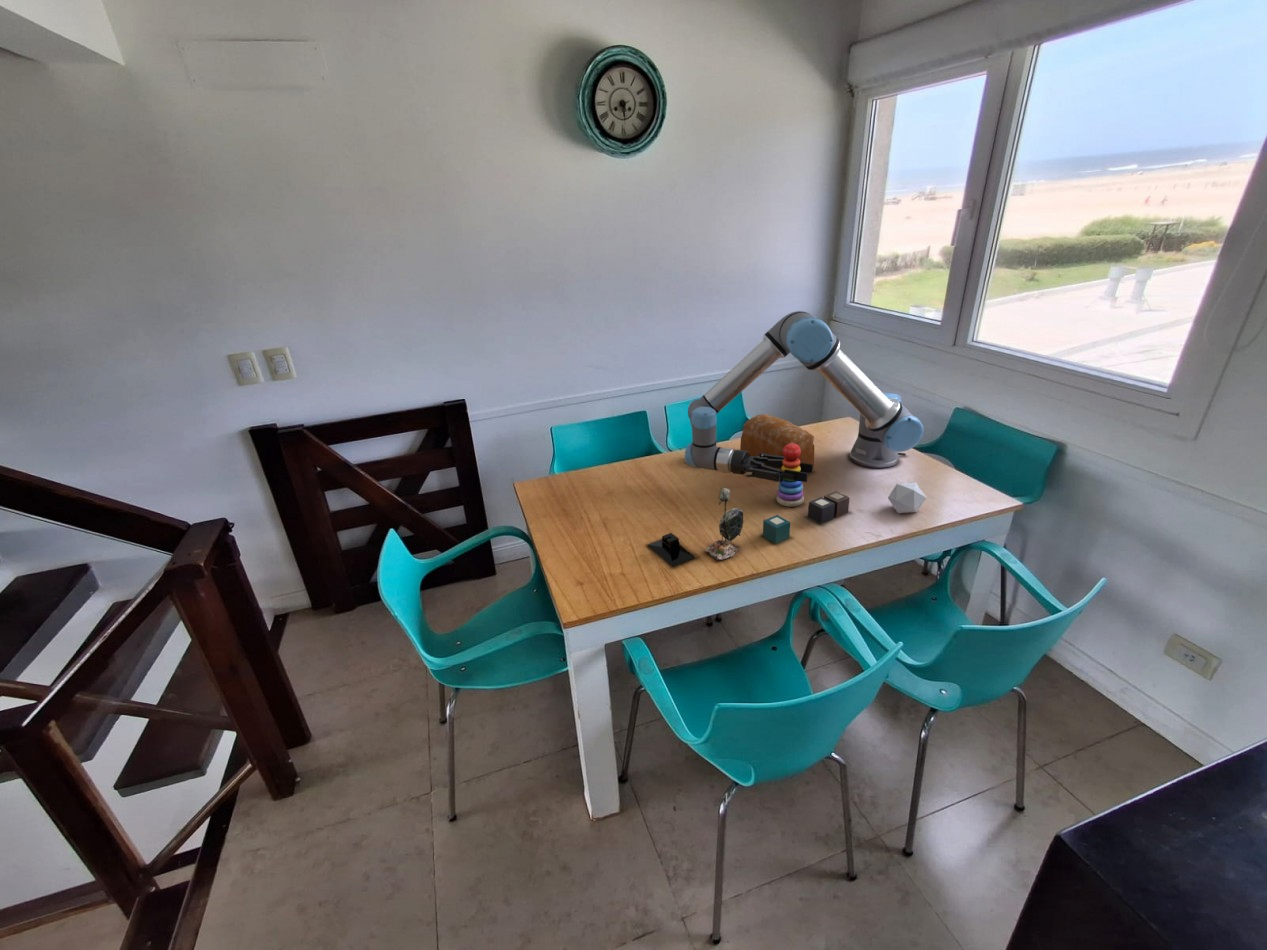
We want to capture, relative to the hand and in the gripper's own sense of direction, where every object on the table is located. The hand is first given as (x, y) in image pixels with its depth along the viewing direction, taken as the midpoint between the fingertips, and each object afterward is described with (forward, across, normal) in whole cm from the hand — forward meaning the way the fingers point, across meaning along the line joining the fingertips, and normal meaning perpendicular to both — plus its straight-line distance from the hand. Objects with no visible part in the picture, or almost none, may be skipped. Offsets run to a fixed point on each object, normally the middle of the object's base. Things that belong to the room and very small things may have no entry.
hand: (809, 473), depth 161 cm
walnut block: (+8, +1, -11) cm, 14 cm away
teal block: (-3, +21, -11) cm, 24 cm away
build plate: (-26, +39, -11) cm, 48 cm away
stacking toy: (-5, 0, -11) cm, 12 cm away
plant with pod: (-13, +32, -11) cm, 37 cm away
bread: (-17, -25, -11) cm, 32 cm away
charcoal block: (+5, +6, -11) cm, 13 cm away
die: (+26, -8, -11) cm, 29 cm away
